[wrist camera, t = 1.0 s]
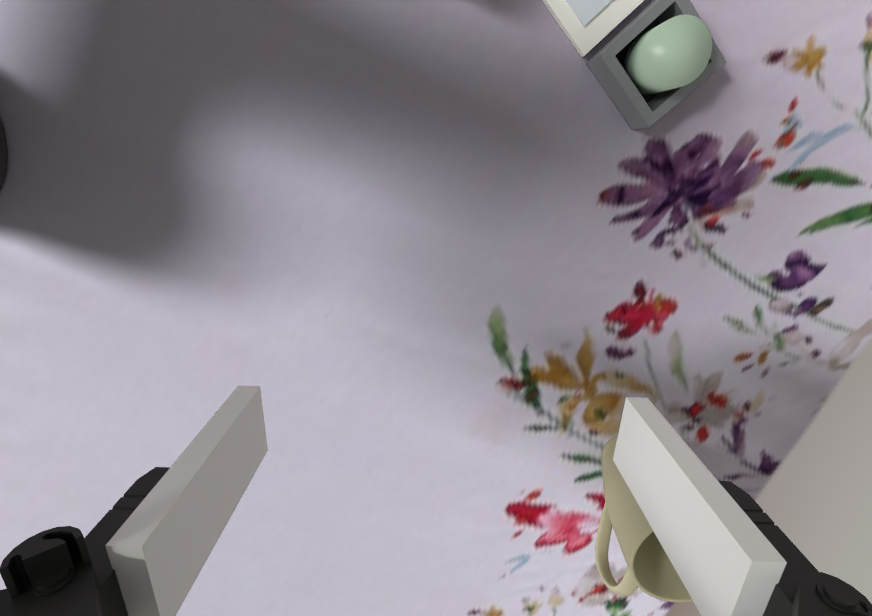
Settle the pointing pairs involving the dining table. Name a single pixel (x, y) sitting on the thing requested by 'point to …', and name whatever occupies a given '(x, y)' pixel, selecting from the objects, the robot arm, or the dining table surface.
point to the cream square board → (589, 19)
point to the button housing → (618, 83)
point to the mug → (633, 541)
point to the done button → (669, 55)
